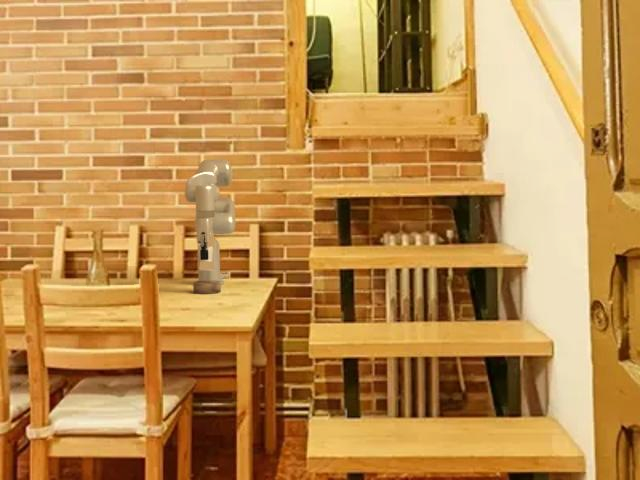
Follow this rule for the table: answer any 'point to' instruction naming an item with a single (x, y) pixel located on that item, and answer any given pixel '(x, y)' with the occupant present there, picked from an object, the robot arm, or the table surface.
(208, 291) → the walnut pedestal
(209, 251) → the beer glass
